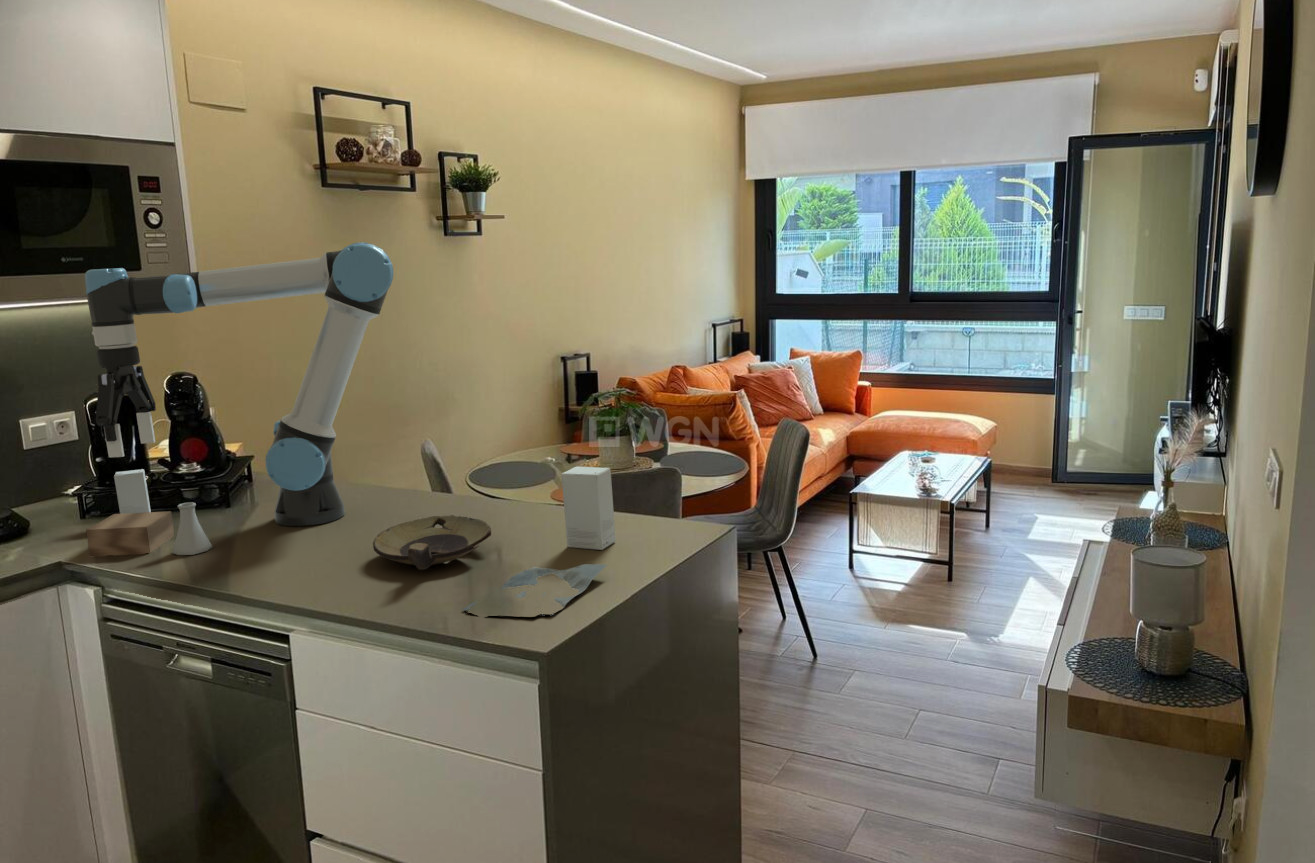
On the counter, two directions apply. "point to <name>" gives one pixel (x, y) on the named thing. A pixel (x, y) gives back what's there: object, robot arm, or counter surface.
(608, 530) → the skincare box
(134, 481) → the skincare box
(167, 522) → the walnut block
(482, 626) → the counter surface
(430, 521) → the oil lamp
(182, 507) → the flask
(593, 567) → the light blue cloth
